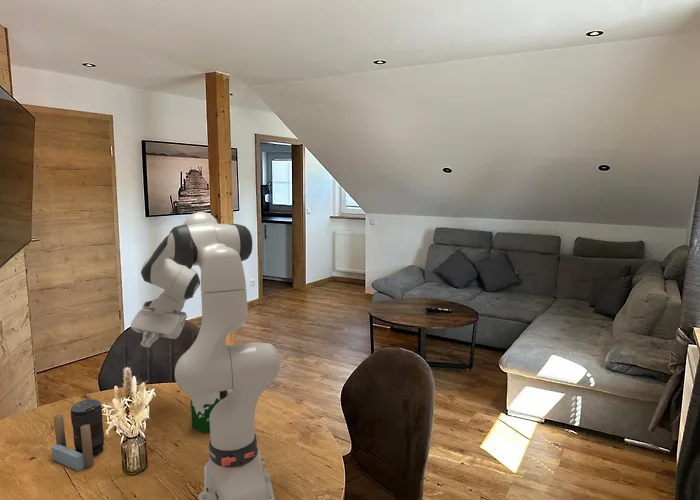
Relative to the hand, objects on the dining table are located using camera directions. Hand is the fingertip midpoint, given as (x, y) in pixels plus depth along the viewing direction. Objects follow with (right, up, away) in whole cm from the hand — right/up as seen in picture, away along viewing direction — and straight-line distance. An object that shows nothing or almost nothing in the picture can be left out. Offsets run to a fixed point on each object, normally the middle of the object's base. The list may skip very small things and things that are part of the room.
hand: (144, 346), depth 160 cm
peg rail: (-14, -30, -18) cm, 37 cm away
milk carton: (+20, -27, +2) cm, 33 cm away
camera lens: (-11, -29, -13) cm, 34 cm away
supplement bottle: (+17, -23, +24) cm, 38 cm away
